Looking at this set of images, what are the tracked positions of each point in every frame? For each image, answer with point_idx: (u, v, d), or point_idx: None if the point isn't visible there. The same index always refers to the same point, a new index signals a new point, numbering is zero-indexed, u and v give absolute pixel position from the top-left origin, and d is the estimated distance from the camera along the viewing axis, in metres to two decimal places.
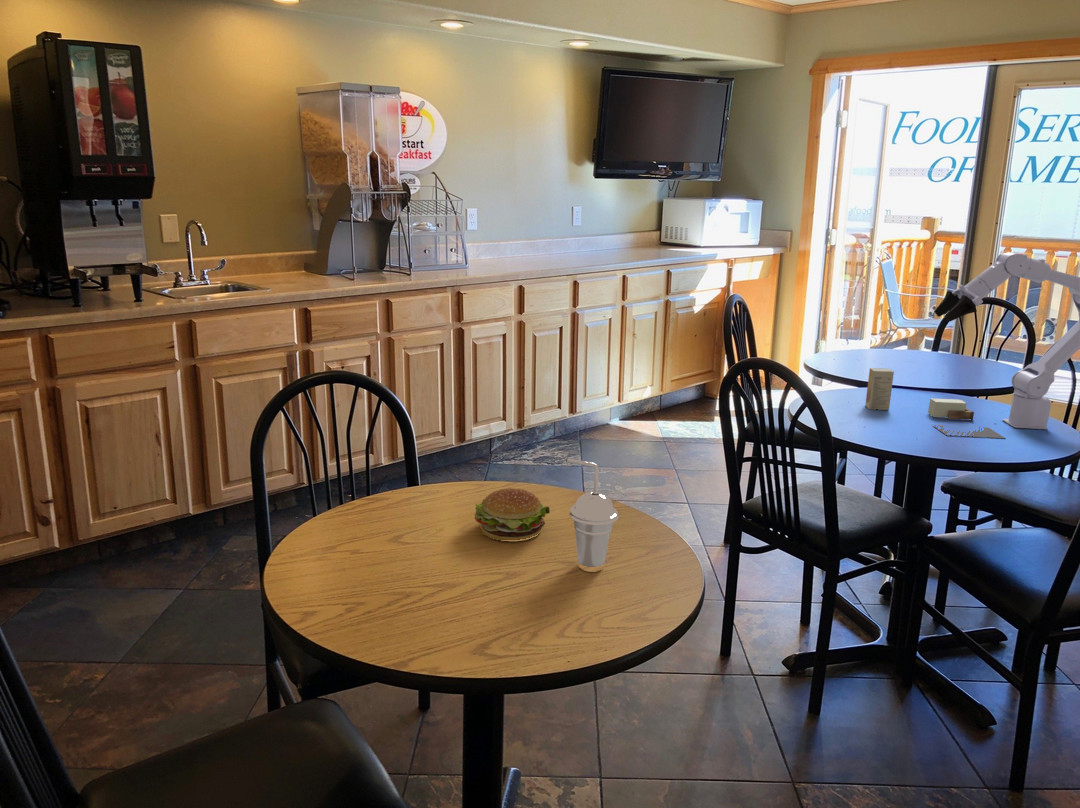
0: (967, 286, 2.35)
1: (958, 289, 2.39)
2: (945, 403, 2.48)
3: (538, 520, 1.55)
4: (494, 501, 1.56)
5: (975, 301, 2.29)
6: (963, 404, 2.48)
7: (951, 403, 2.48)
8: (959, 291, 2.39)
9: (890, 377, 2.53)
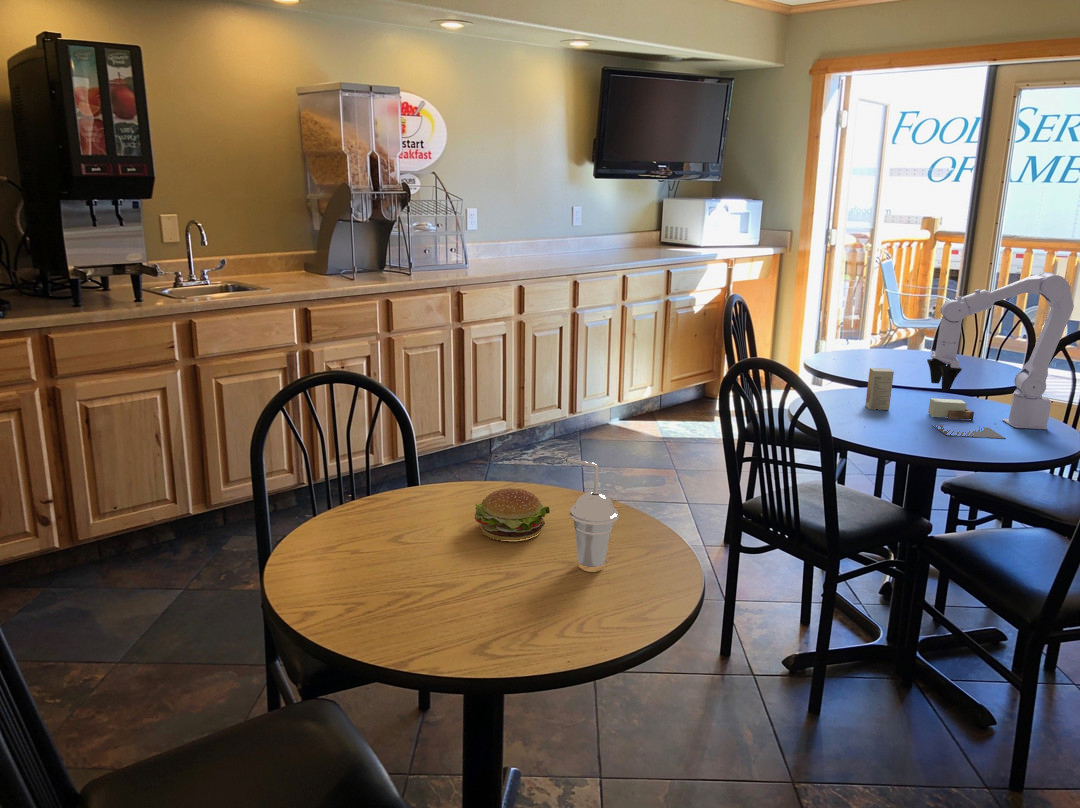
0: (937, 353, 2.46)
1: None
2: (945, 403, 2.48)
3: (538, 520, 1.55)
4: (494, 501, 1.56)
5: (953, 366, 2.40)
6: (963, 404, 2.48)
7: (951, 403, 2.48)
8: None
9: (890, 377, 2.53)
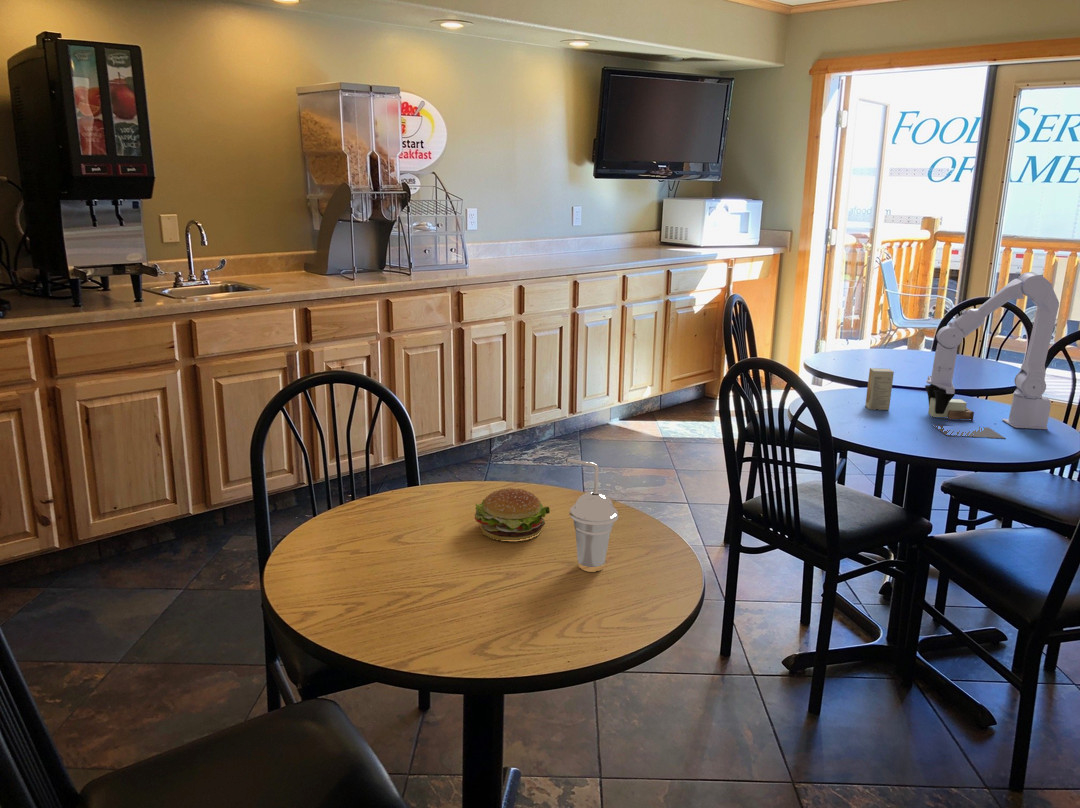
0: (933, 379, 2.48)
1: None
2: None
3: (538, 520, 1.55)
4: (494, 501, 1.56)
5: (949, 392, 2.42)
6: (963, 404, 2.48)
7: (951, 403, 2.48)
8: None
9: (890, 377, 2.53)
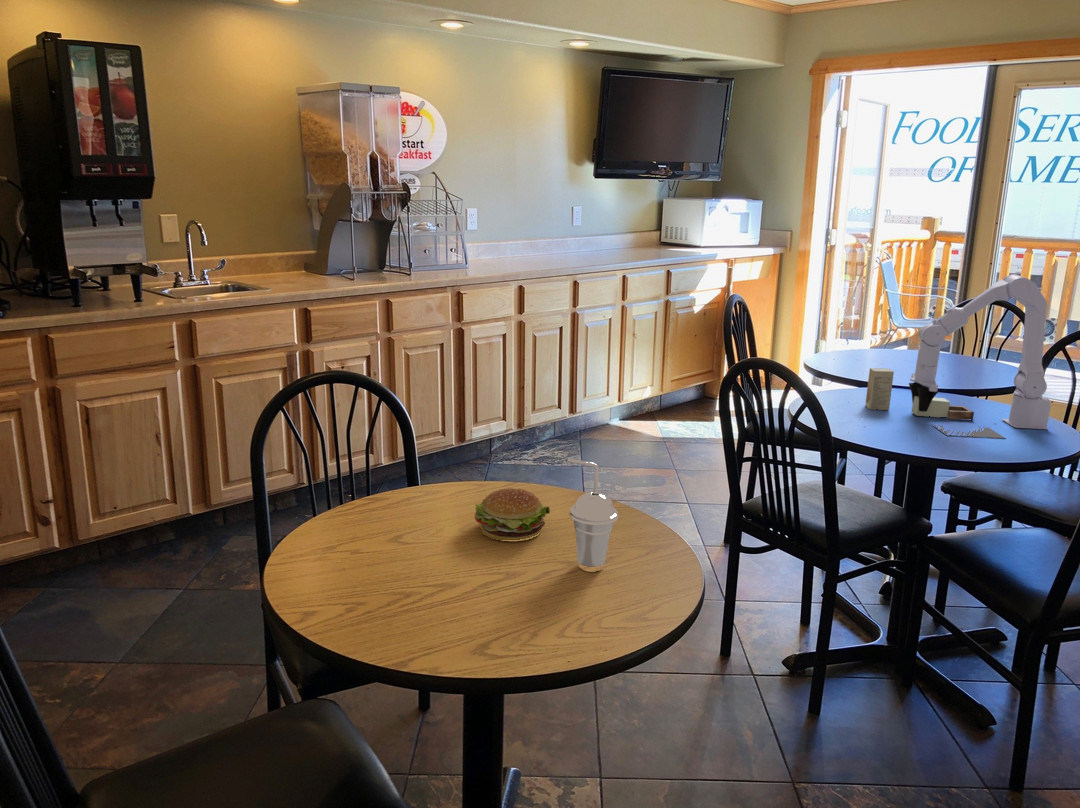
0: (916, 376, 2.48)
1: None
2: None
3: (538, 520, 1.55)
4: (494, 501, 1.56)
5: (932, 390, 2.42)
6: (947, 402, 2.48)
7: (935, 401, 2.48)
8: None
9: (890, 377, 2.53)
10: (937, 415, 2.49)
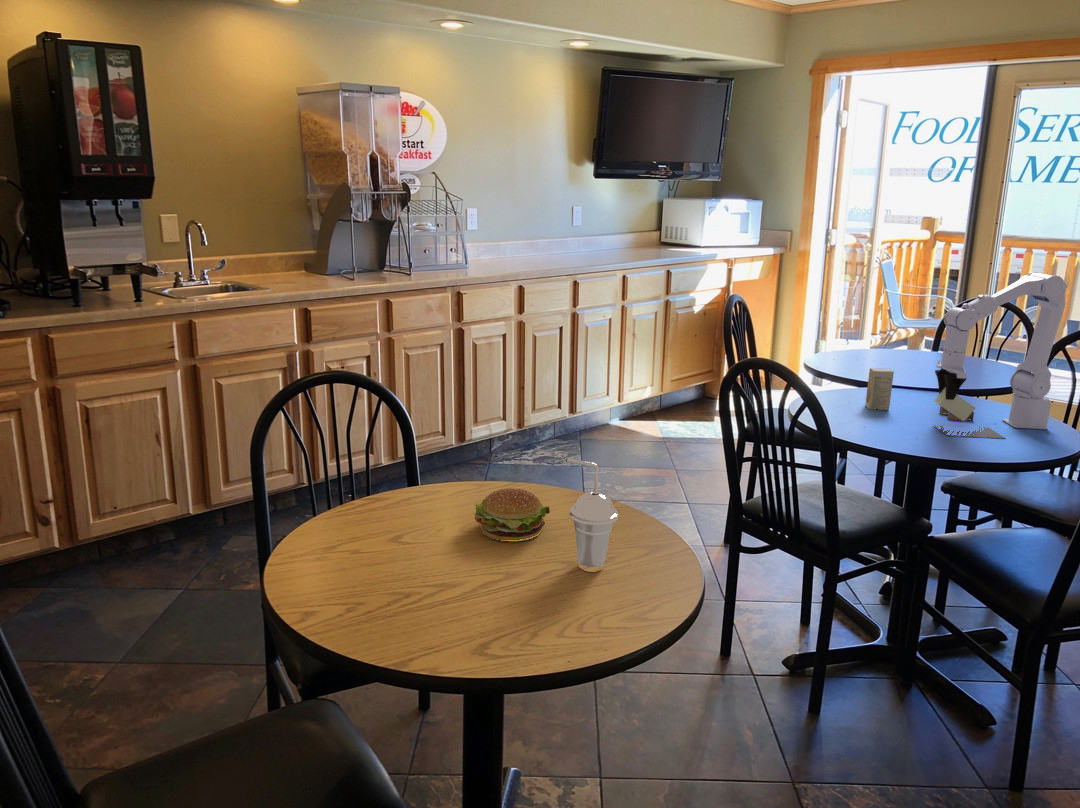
0: (943, 363, 2.36)
1: (939, 365, 2.40)
2: (958, 397, 2.37)
3: (538, 520, 1.55)
4: (494, 501, 1.56)
5: (960, 377, 2.30)
6: (972, 407, 2.38)
7: (963, 400, 2.37)
8: None
9: (890, 377, 2.53)
10: (957, 414, 2.39)
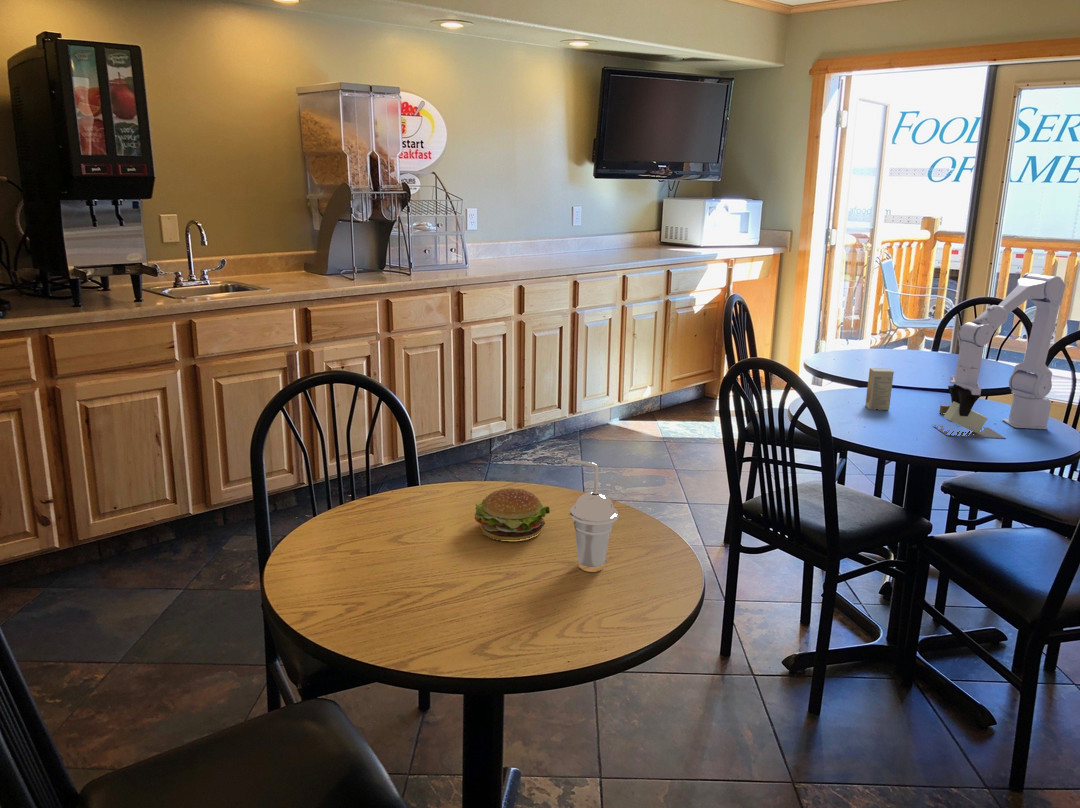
0: (957, 379, 2.31)
1: None
2: None
3: (538, 520, 1.55)
4: (494, 501, 1.56)
5: (974, 393, 2.26)
6: (984, 418, 2.33)
7: (973, 412, 2.32)
8: None
9: (890, 377, 2.53)
10: (969, 427, 2.33)
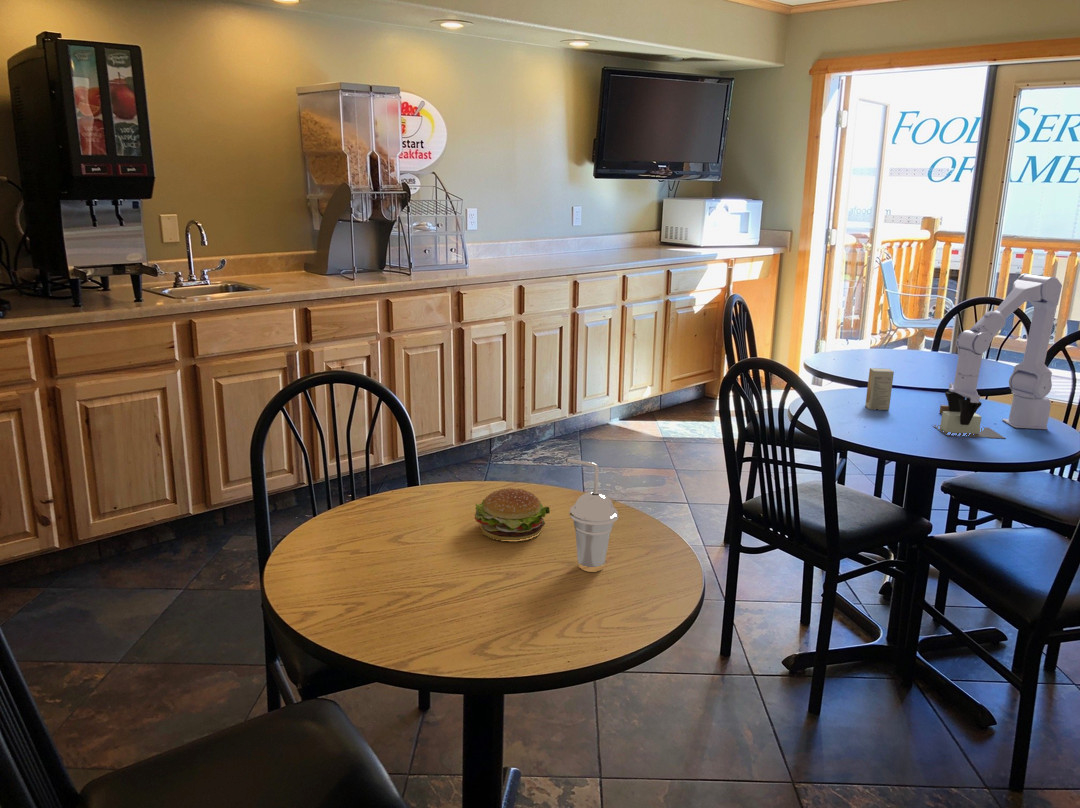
0: (956, 386, 2.32)
1: (951, 388, 2.36)
2: (959, 416, 2.33)
3: (538, 520, 1.55)
4: (494, 501, 1.56)
5: (973, 401, 2.26)
6: (978, 417, 2.33)
7: None
8: None
9: (890, 377, 2.53)
10: (968, 431, 2.34)
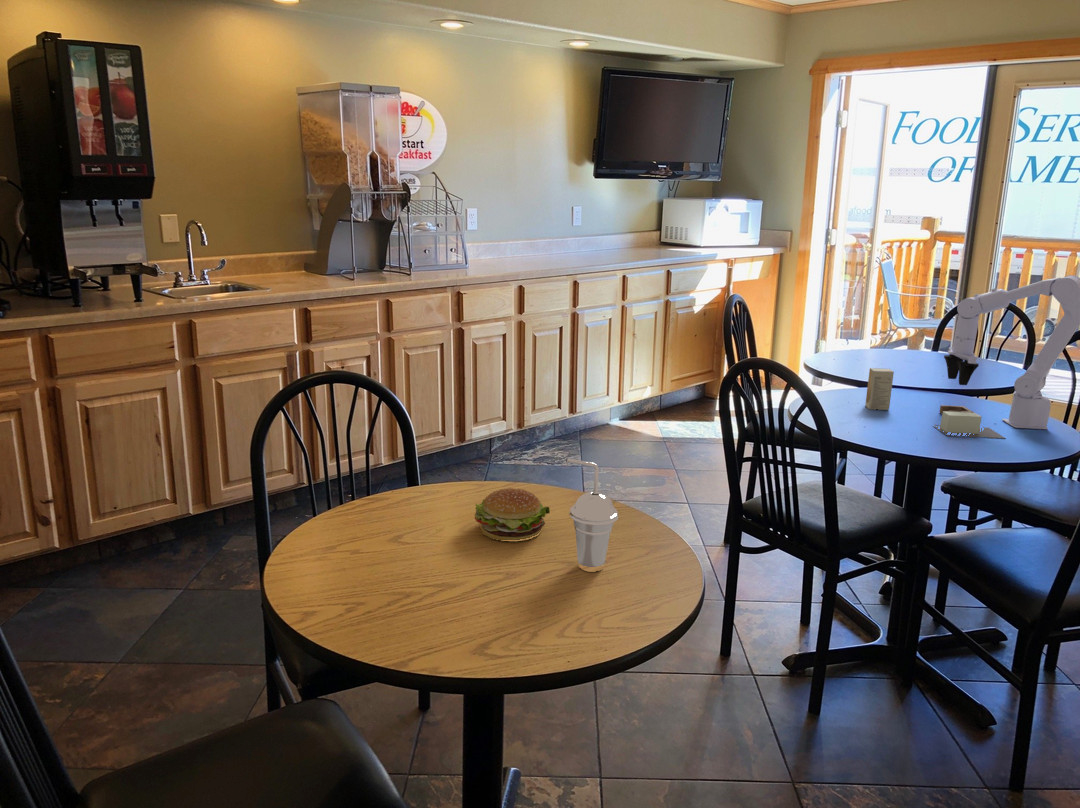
0: (954, 349, 2.51)
1: None
2: (959, 416, 2.33)
3: (538, 520, 1.55)
4: (494, 501, 1.56)
5: (970, 362, 2.45)
6: (978, 417, 2.33)
7: (965, 416, 2.33)
8: None
9: (890, 377, 2.53)
10: (968, 431, 2.34)
